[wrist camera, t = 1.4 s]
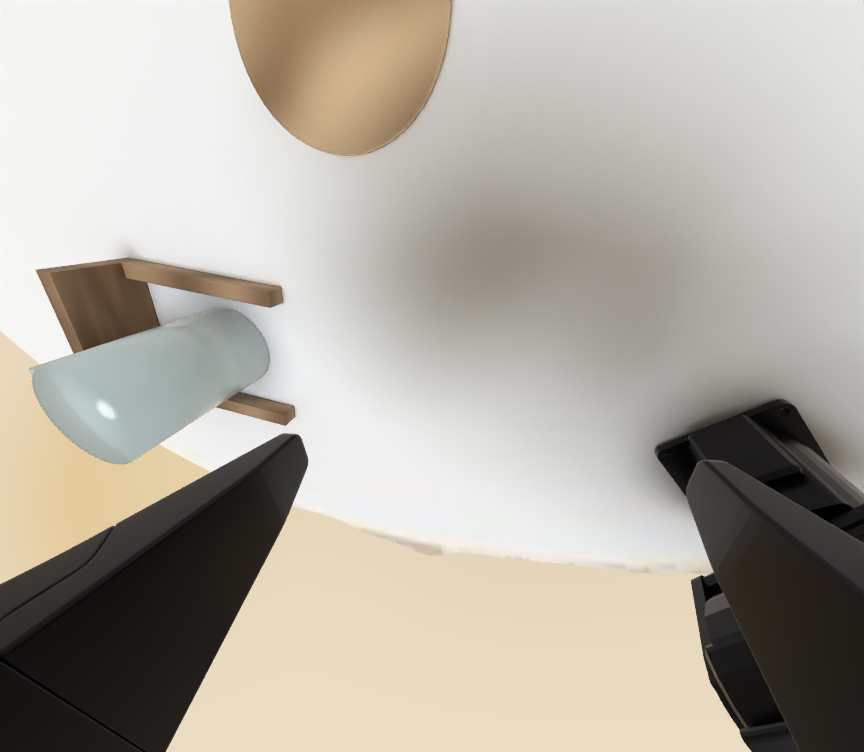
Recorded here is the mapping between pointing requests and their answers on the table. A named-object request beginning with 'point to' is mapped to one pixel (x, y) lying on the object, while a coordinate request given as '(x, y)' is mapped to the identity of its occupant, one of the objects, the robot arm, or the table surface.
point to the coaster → (342, 65)
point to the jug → (150, 382)
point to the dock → (145, 309)
